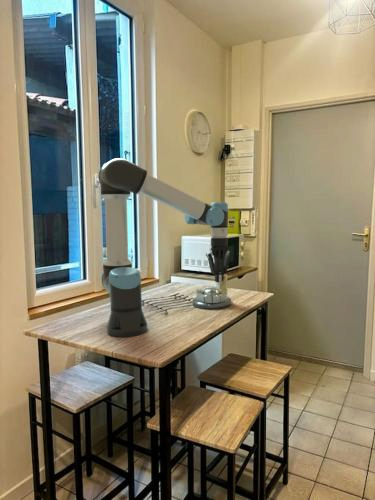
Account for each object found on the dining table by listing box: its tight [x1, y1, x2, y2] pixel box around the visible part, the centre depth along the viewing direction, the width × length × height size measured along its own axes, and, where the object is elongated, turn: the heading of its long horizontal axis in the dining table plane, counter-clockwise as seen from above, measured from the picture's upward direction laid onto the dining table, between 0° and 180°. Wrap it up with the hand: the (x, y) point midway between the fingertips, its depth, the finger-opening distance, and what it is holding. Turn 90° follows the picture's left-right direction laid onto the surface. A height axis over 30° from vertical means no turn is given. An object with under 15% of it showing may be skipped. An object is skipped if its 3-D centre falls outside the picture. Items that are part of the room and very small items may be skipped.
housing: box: [192, 287, 232, 310], centre depth 179 cm, size 18×18×7 cm
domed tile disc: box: [195, 273, 228, 303], centre depth 179 cm, size 14×14×12 cm
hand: (218, 289), depth 174 cm, fingers closed
